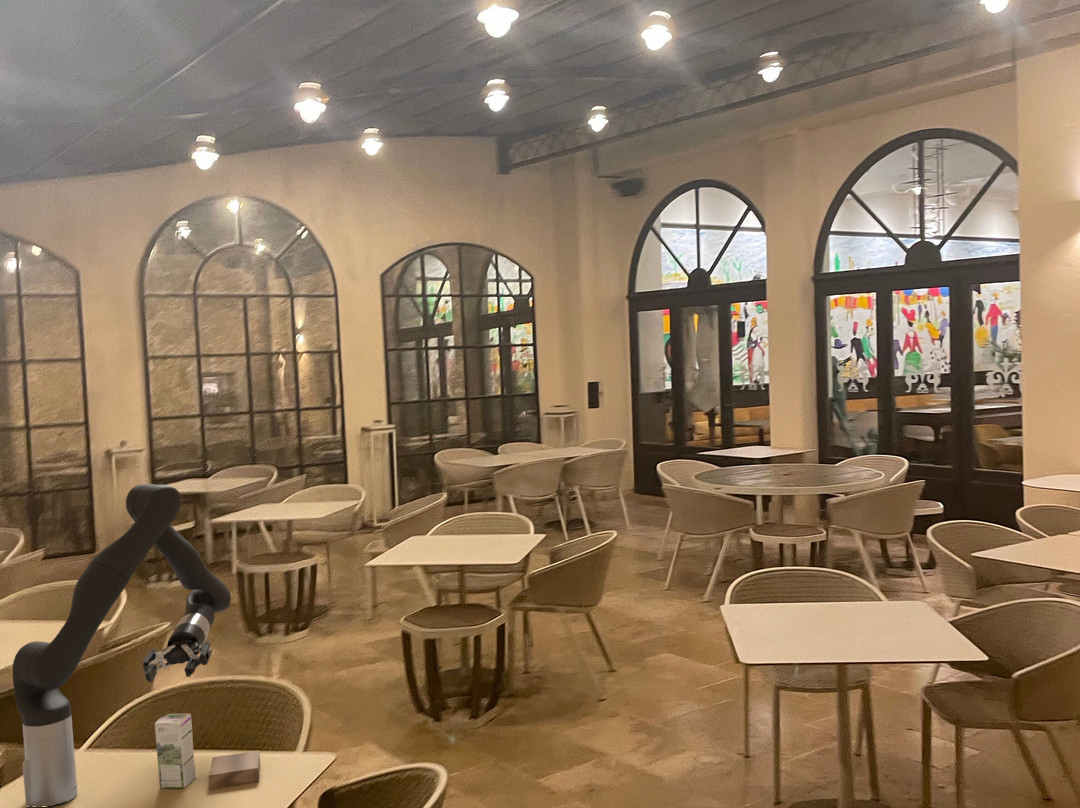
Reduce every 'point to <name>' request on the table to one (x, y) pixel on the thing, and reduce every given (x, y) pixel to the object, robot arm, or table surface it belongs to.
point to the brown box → (234, 769)
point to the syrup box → (175, 750)
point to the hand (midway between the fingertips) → (167, 676)
